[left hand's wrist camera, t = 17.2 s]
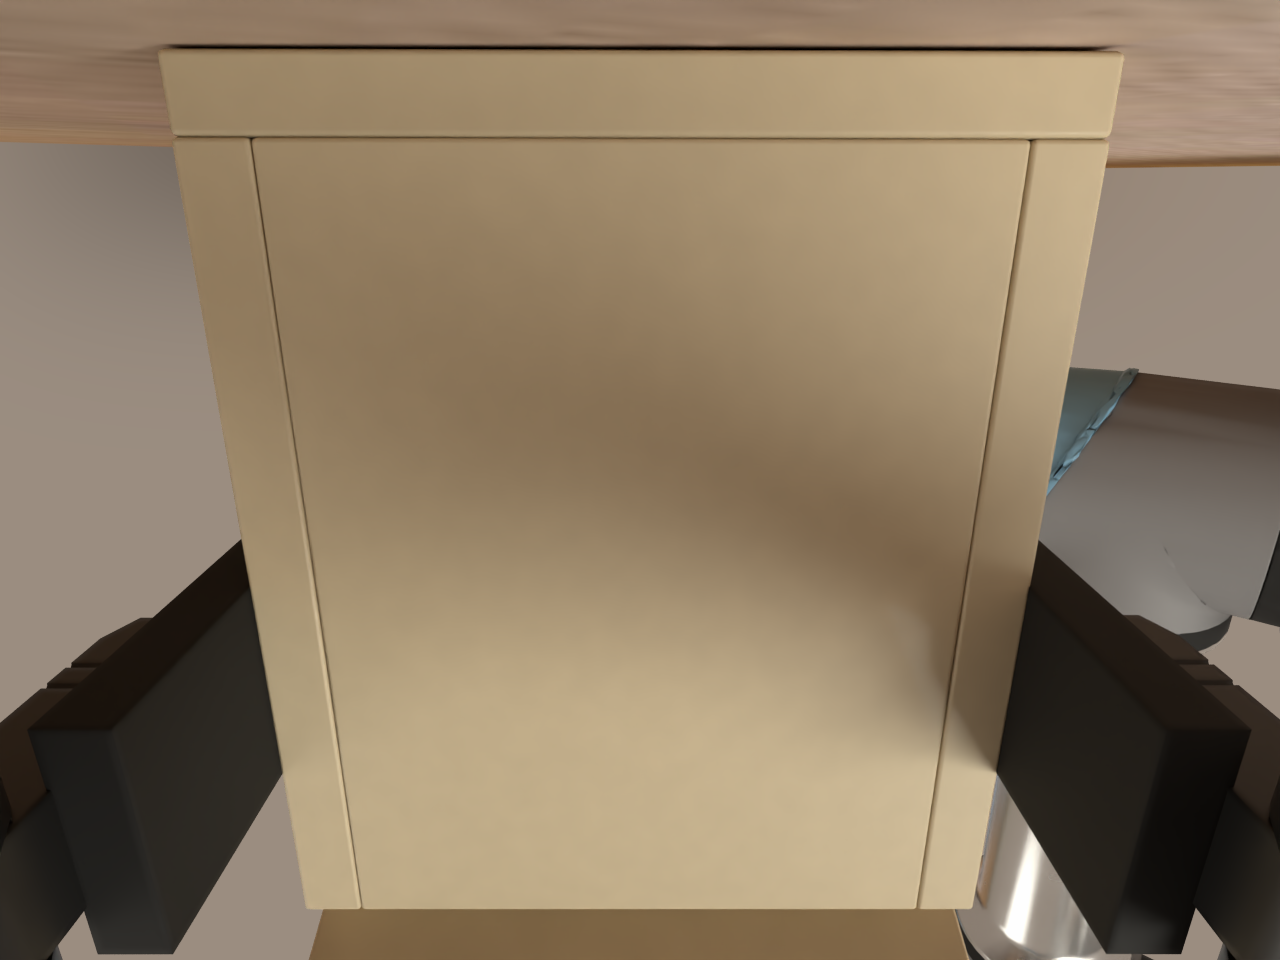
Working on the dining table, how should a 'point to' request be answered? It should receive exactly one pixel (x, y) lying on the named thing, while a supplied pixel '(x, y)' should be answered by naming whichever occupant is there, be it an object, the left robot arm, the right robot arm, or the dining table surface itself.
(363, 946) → the lid
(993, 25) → the dining table surface
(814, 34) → the dining table surface
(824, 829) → the chest
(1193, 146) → the dining table surface
